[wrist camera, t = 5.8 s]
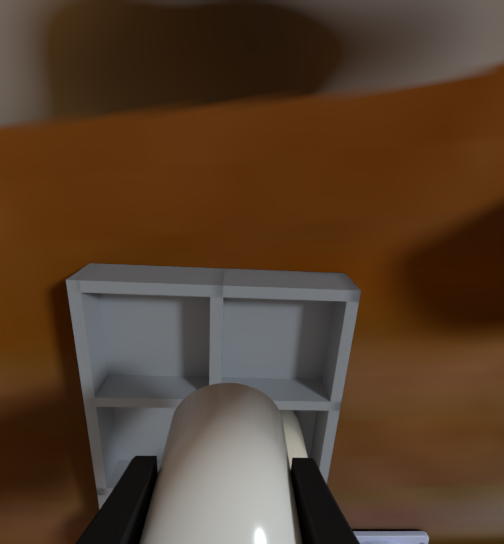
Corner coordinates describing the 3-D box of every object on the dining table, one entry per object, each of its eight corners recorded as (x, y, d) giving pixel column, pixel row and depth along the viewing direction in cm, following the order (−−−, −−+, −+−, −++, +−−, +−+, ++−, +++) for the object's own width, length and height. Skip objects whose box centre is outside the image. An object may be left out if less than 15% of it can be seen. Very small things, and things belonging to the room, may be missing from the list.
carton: (305, 525, 24) (312, 564, 22) (121, 525, 24) (107, 566, 21) (344, 273, 18) (360, 290, 15) (89, 263, 17) (65, 279, 15)
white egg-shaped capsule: (278, 470, 12) (323, 836, 6) (172, 469, 12) (89, 848, 5) (288, 384, 11) (362, 728, 4) (169, 381, 11) (55, 739, 4)
